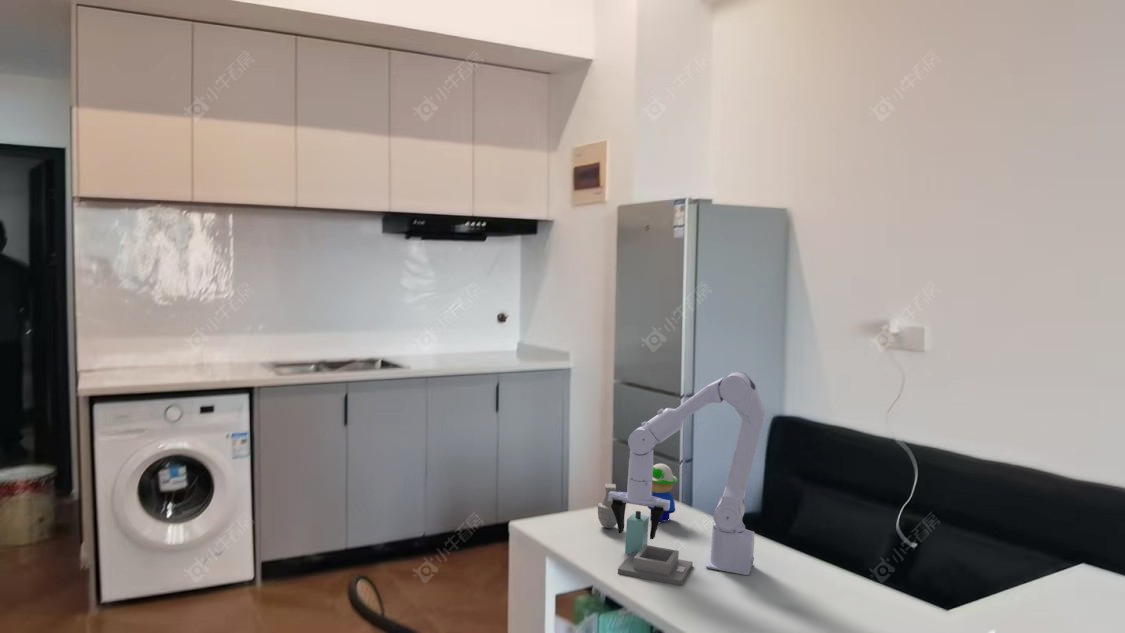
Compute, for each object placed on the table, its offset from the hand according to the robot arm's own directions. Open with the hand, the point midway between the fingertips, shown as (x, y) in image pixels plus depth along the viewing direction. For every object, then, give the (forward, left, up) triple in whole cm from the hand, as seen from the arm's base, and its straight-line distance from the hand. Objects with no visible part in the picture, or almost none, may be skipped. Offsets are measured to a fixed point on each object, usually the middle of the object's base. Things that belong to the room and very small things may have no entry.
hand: (636, 535), depth 183 cm
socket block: (-7, +9, -4) cm, 12 cm away
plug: (0, 0, -4) cm, 4 cm away
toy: (+1, -26, -4) cm, 26 cm away
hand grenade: (+11, -13, -4) cm, 17 cm away
